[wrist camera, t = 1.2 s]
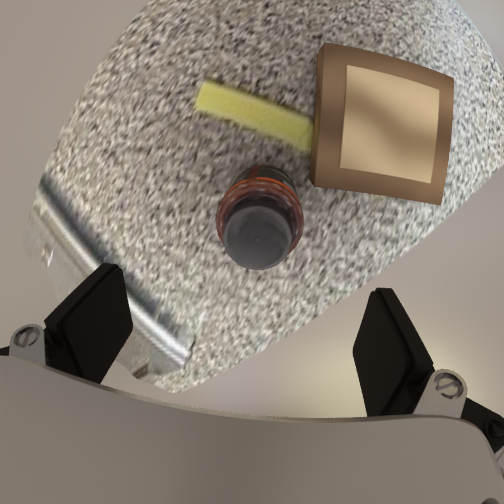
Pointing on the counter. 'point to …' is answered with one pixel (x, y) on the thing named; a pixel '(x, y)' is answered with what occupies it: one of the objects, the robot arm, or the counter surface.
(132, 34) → the counter surface
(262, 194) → the supplement bottle
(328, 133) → the base slab
